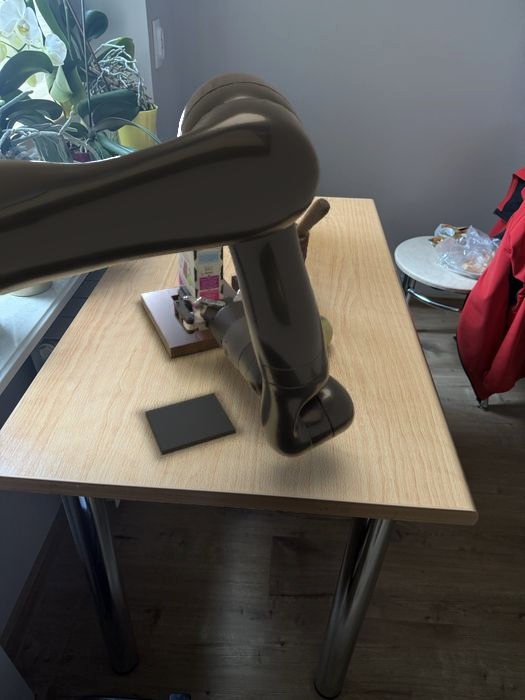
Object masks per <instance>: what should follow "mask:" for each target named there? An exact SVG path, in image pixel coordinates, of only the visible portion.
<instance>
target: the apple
mask: <svg viewBox="0 0 525 700" xmlns="http://www.w3.org/2000/svg"><path fill="white" fill-rule="evenodd" d="M320 317H321V322H322V326H323V331H324V336H325V341H326V347H327V348H328V346H329V345H330V343H331V342H332V339H333V336H334V329H333V326H332V323H331V322H330V321H329V320H328V318H327V317H326V316H324V315H321V314H320Z"/></svg>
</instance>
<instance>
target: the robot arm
mask: <svg viewBox="0 0 525 700" xmlns="http://www.w3.org/2000/svg"><path fill="white" fill-rule="evenodd" d="M321 177H322V169H321V163H320V158H319V155H318V152H317V149H316V147H315V144H314V143H313V141H312V138H311V137H310V135H309V133H308V131H307V128H306V127H305V126H304V125H303V123H302V121H301V119H300V118H299V116H298V114H297V113H296V111H295V109H294V108H293V106H292V104H291V103H290V102H289V101H288V99H287V98H286V97H285V95H284V94H283V93H282V92H281V91H280V90H278V89H277V88H276V87H275V86H274V85H272V84H271V83H270V82H269V81H267V80H265V79H263V78H262V77H259V76H258V75H253V74H250V73H246V72H238V71H237V72H235V71H231V72H227V73H226V72H225V73H221V74H218V75H215V76H213V77H211V78H210V79H208V80H207V81H205V82H203V83H202V84H201V85H200V86H199V87H198V88H197V89H196V90H195V91H194V92H193V94H192V95H191V96H190V98H189V100H188V101H187V103H186V105H185V106H184V109H183V112H182V114H181V117H180V121H179V127H178V133H177V136H176V137H173V138H170V139H168V140H165V141H163V142H160V143H157V144H153V145H150V146H147V147H144V148H141V149H138V150H133V151H131V152H127V153H125V154H122V155H118V156H114V157H109V158H105V159H101V160H94V161H87V162H52V161H51V162H50V161H40V160H29V159H28V160H27V159H15V158H13V159H11V158H0V296H5V295H9V294H11V293H14V292H17V291H20V290H24V289H27V288H30V287H34V286H37V285H41V284H45V283H49V282H53V281H57V280H62V279H66V278H70V277H74V276H78V275H82V274H86V273H90V272H94V271H97V270H98V271H99V270H101V269H105V268H109V267H112V266H116V265H120V264H124V263H129V262H134V261H139V260H144V259H150V258H155V257H161V256H168V255H175V254H178V253H182V252H189V251H195V250H202V249H209V248H215V247H222V246H223V247H228V250H229V254H230V257H231V261H232V264H233V268H234V270H235V271H234V272H235V275H231V277H230V278H231V279H230V282H231V283H230V286H231V288H232V289H233V290H234V291H235V292H236V294H237V295H236V297H232V296H230V297H226V298H224V299H216V300H211V299H208V298H205V297H200V298H195V297H192V294H191V293H190V292H189V290H188V289H187V287H186V286H185V285H181V286H180V289H178V299H179V300H175V301H174V302H173V304H174V312H175V313H174V316H175V318H176V319H177V321H178V322H179V323H180V325H181V326H182V327H183V329H184V330H185V331H186V333H187V334H194V333H195V328H199V327H203V326H204V327H206V328H208V329H210V330H211V331H212V334H213V336H214V337H215V339H216V340H217V342H218V343H219V345H220V348H221V349H222V351H223V353H224V354H225V355H224V356H225V357H226V358H227V359H228V360H229V361H230V363H231V364H232V366H233V367H234V368H235V369H236V370H237V371H238V372H240V374H241V376H242V377H243V379H244V380H245V382H246V383H247V385H248V386H249V387H250V389H251V391H252V392H253V393H254V394H255V396H257V398H259V399H260V405H259V407H260V408H259V411H260V414H259V416H260V417H259V418H260V426H261V429H262V433H263V436H264V438H265V441H266V443H267V445H268V446H269V447H270V448H271V450H273V451H274V452H275V453H276V454H278V455H280V456H282V457H284V458H288V459H289V458H290V459H291V458H292V459H293V458H297V457H300V456H303V455H305V454H307V453H308V452H310V451H312V450H313V449H316V448H318V447H319V446H321V445H323V444H324V443H325V444H326V443H327V442H329V441H330V440H332V439H333V438H336V437H338V436H340V435H341V434H344V433H345V432H346V431H347V430H349V429H350V428H351V426H352V425H353V423H354V420H355V415H356V411H355V404H354V402H353V401H354V400H353V398H352V396H351V394H350V392H349V391H348V390H347V388H346V387H345V386H344V385H343V384H342V383H341V382H340V381H338V379H336V378H335V377H334V376H332V375H331V374H330V373H331V372H330V371H331V369H330V359H329V352H328V346H327V347H326V341H325V336H324V331H323V326H322V322H321V317H320V315H321V313H320V309H319V306H318V303H317V299H316V296H315V292H314V289H313V287H312V283H311V282H312V281H311V279H310V276H309V273H308V269H307V266H306V262H305V263H304V259H303V255H302V251H301V248H300V243H299V238H298V234H297V229H296V223H297V221H298V220H300V218H301V217H302V216H304V215H305V214H306V212H307V211H308V209H309V208H310V207H311V206H312V204H313V203H314V200H315V198H316V196H317V194H318V191H319V188H320V183H321ZM193 304H194V305H195V306H196V309H195V308H193ZM205 306H208V307H207V309H206V310H205Z"/></svg>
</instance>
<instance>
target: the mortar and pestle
mask: <svg viewBox="0 0 525 700" xmlns="http://www.w3.org/2000/svg"><path fill="white" fill-rule="evenodd" d="M329 211H331V204H330V202H329V200H327V199H325V198H324V197H323V198H322V197H320V198H318V199H316V200H315V201H313V202H312V204H311V205H310V206H309V208H308V209H307V210H306V212H305V213H304V214H303V217H302V218H301V219H300V221H299V223H297V222H295V223H296V229H297V234H298V238H299V243H300V248H301V251H302V255H303V259H304V263H305V264H306V260H307V255H308V247H309V242H310V235H311V234H310V230H311V229H312V228H313V227H314V226H315V225H317V224H318V223H319V222H320V221H321V220H323V219H324V217H326V216H327V215H328V214H329Z"/></svg>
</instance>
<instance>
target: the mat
mask: <svg viewBox="0 0 525 700" xmlns="http://www.w3.org/2000/svg"><path fill="white" fill-rule="evenodd" d="M144 412H145V413H144V414H145V417H146V419H147V422H148V424H149V426H150V429H151V431H152V433H153V436H154V438H155V441H156V443H157V446H158V449H159V451H160V453H161V455H166V454H168V453H171V452H175V451H179V450H181V449H184V448H189V447H192V446H195V445H199V444H201V443H205V442H209V441H211V440H214V439H218V438H222V437H225V436H228V435H231V434H234V433H236V427H235V426H234V424H233V422H232V421H231V419H230V418H229V416H228V414H227V412H226V411H225V409H224V407H223V406H222V404H221V402H220V400H219V399H218V397H217V395H216V393H215V392H212V393H210V394H205V395H201V396H197V397H193V398H190V399H186V400H183V401H179V402H175V403H171V404H168V405H164V406H161V407H157V408H154V409H153V408H152V409H149V410H146V411H144Z"/></svg>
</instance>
